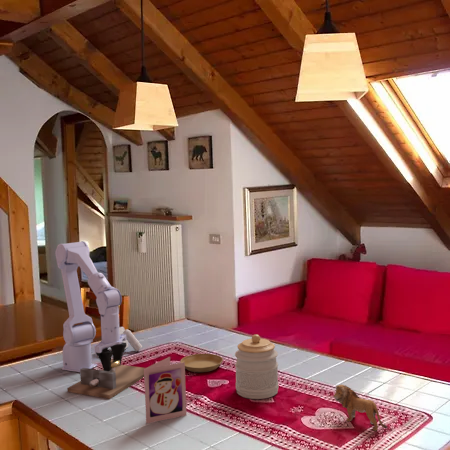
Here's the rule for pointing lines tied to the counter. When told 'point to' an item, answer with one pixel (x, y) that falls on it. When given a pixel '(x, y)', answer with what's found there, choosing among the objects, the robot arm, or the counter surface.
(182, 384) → the greeting card
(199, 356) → the plant saucer
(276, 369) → the jar
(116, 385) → the wooden board
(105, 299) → the robot arm
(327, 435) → the counter surface
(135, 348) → the wall hook
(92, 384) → the brass knob with shaft
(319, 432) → the counter surface
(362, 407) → the lion figurine
